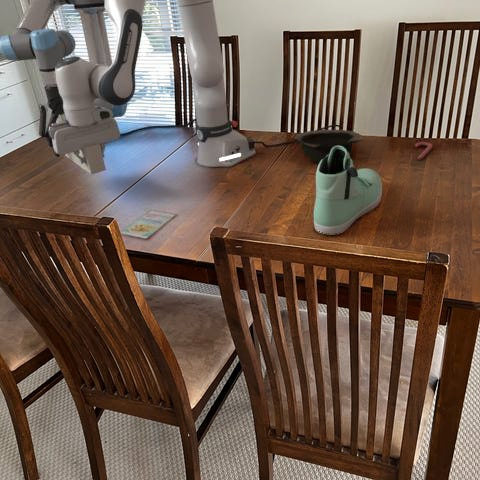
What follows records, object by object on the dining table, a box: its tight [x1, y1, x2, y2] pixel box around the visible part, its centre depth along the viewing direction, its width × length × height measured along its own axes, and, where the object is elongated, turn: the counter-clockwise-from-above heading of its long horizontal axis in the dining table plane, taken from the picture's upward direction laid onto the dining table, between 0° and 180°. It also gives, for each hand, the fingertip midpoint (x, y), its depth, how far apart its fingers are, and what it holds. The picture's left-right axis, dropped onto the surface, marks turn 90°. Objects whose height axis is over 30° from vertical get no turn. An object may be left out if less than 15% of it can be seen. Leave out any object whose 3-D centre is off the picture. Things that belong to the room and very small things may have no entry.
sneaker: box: [313, 146, 383, 236], centre depth 133 cm, size 14×35×20 cm, turn 152°
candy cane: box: [414, 141, 434, 161], centre depth 170 cm, size 6×15×2 cm, turn 145°
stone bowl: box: [292, 129, 365, 164], centre depth 172 cm, size 25×25×9 cm
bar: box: [64, 143, 107, 175], centre depth 153 cm, size 22×5×8 cm, turn 38°
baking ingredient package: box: [120, 209, 176, 239], centre depth 139 cm, size 9×1×15 cm
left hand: (74, 150), depth 160 cm, fingers open, 11 cm apart
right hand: (92, 160), depth 149 cm, fingers closed on bar, 5 cm apart
